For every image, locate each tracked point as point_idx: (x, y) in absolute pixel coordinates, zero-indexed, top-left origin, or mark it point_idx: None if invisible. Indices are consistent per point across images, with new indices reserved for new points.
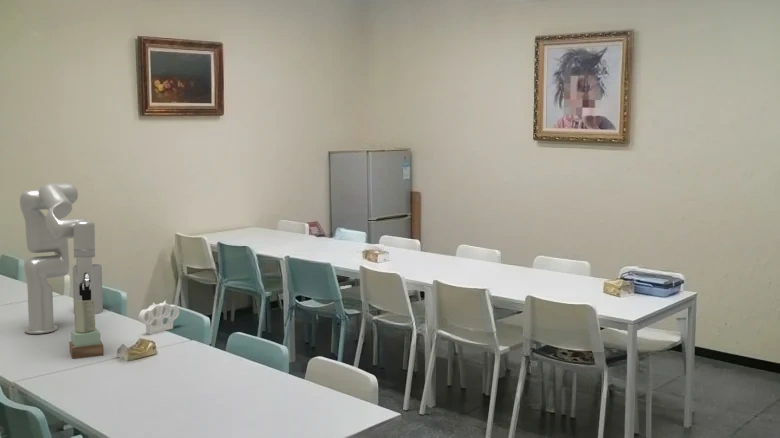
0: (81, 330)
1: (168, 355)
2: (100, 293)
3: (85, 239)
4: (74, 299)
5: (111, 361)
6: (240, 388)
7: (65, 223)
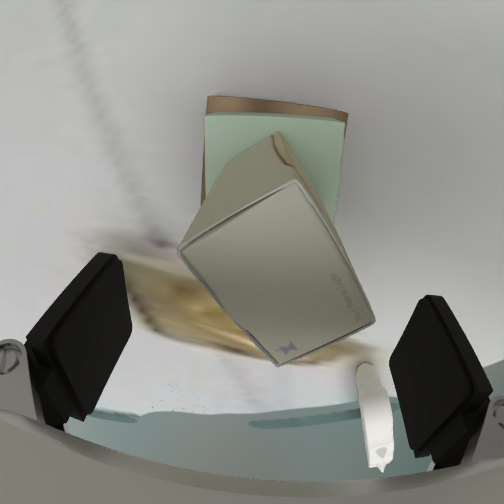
0: (234, 159)
1: (131, 345)
2: None
3: None
4: None
5: (117, 212)
6: None
7: None
